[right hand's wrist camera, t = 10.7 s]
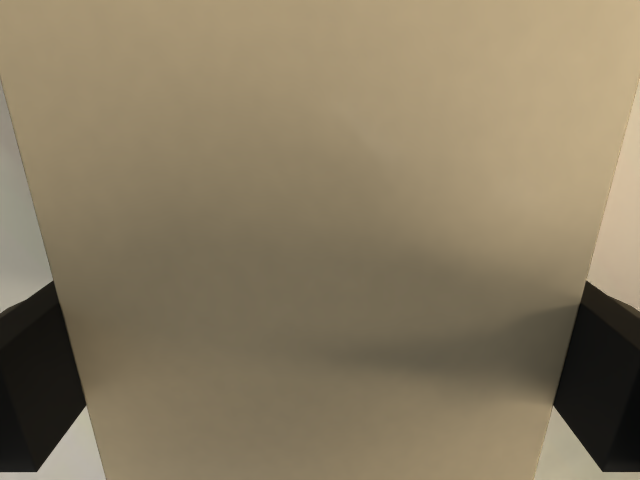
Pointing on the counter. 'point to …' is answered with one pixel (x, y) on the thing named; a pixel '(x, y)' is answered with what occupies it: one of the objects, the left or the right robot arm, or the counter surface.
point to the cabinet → (319, 222)
